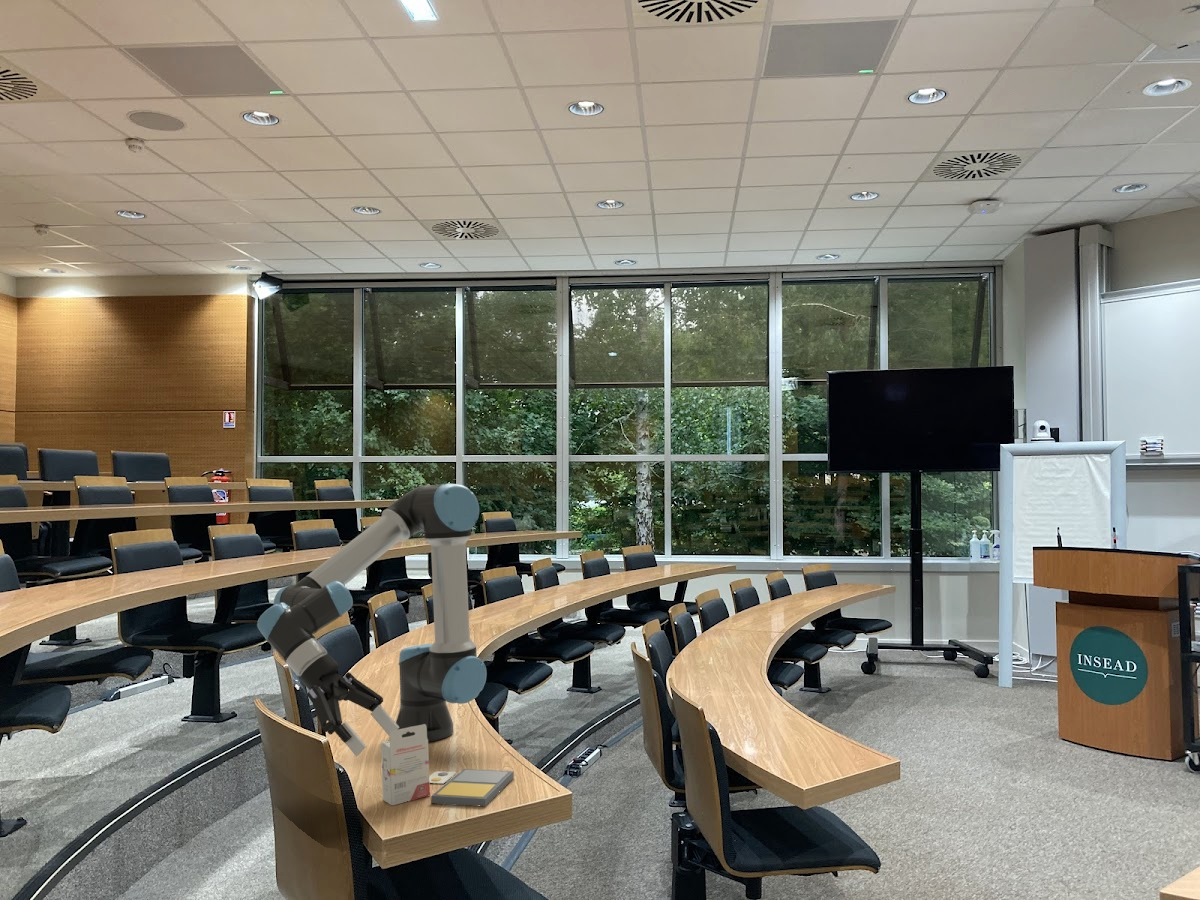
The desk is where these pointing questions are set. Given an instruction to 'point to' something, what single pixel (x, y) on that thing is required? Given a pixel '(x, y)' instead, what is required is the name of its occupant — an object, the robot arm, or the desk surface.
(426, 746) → the ink cartridge box
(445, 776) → the pattern card
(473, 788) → the pad board
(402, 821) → the desk surface
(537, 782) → the desk surface
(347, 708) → the desk surface
